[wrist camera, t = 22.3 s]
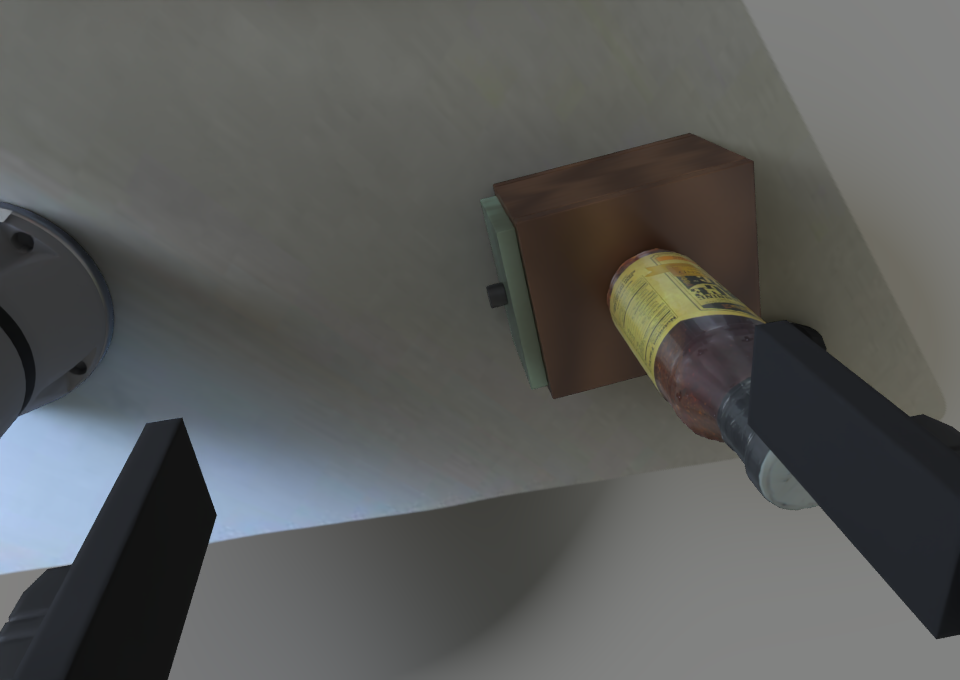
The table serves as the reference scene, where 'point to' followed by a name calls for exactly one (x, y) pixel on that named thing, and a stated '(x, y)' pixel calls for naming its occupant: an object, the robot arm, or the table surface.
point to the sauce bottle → (699, 357)
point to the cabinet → (625, 243)
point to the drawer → (513, 290)
